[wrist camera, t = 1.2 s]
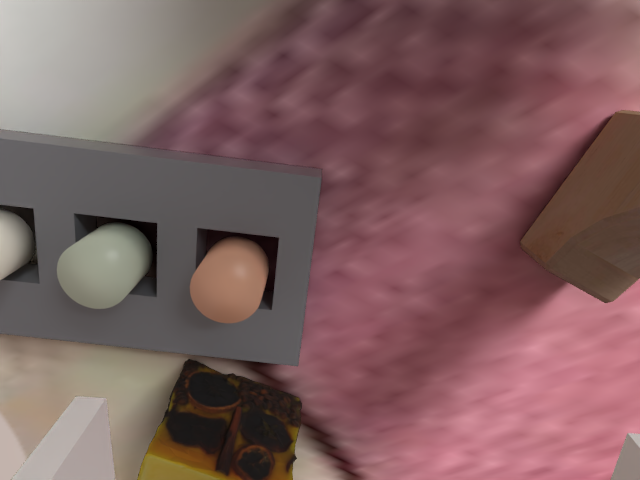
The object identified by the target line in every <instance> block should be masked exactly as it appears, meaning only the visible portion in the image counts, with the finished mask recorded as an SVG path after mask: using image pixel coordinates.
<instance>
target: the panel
mask: <svg viewBox="0 0 640 480" xmlns="http://www.w3.org/2000/svg"><path fill="white" fill-rule="evenodd" d="M321 180H322V169H318V168H310V167H302V166H294V165H286V164H278V163H270V162H262V161H253V160H245V159H237V158H229V157H221V156H213V155H205V154H197V153H188V152H180V151H172V150H164V149H156V148H148V147H140V146H132V145H123V144H115V143H107V142H99V141H91V140H83V139H75V138H66V137H58V136H50V135H42V134H34V133H26V132H18V131H10V130H1V129H0V205H8V206H16V207H25V208H33V209H34V221H35V233H36V246H37V258H38V264H30V263H27V264H25V265H24V266H22V267H21V268H19V269H17V270H16V271H14V272H13V273H11V274H10V275H8V276H6V277H5V278H3V279H2V280H0V334H8V335H17V336H26V337H36V338H45V339H54V340H63V341H72V342H81V343H90V344H99V345H109V346H118V347H127V348H136V349H145V350H154V351H163V352H172V353H182V354H191V355H200V356H209V357H218V358H227V359H236V360H245V361H255V362H264V363H273V364H282V365H291V366H298V364H299V356H300V348H301V340H302V332H303V324H304V316H305V308H306V300H307V292H308V284H309V276H310V268H311V260H312V252H313V244H314V236H315V228H316V220H317V212H318V204H319V196H320V188H321ZM96 216H101V217H110V218H118V219H127V220H135V221H144V222H152V223H157V278H152V277H143V278H142V279H141V280H140V281H139V282H138V284H137V285H136V286H135V287H134V288H133V289H132V290H131V291H130V292H129V294H128V295H127V296H126V297H125V298H124V299H123V300H122V301H121V302H120V303H118V304H117V305H115V306H113V307H110V308H105V309H94V308H89V307H85V306H83V305H81V304H79V303H77V302H75V301H74V300H73V299H71V298H70V297H69V296H68V295H67V294H66V293H65V291H64V290H63V289H62V287H61V285H60V283H59V280H58V277H57V264H58V261H59V258H60V256H61V255H62V253H63V252H64V251H65V250H66V249H67V248H69V247H70V246H72V245H73V244H75V243H76V242H78V241H79V240H81V239H82V238H84V237H85V236H87V235H88V234H90V233H91V232H93V231H94V230H96ZM207 229H211V230H220V231H228V232H237V233H245V234H254V235H262V236H271V237H279V244H278V254H277V264H276V274H275V285H274V291H266V290H264V292H263V295H262V299H261V302H260V305H259V307H258V308H257V310H256V311H255V312H254V313H253V314H252V315H251V316H250V317H249V318H247V319H245V320H243V321H240V322H237V323H220V322H216V321H214V320H211V319H209V318H207V317H206V316H204V315H203V314H202V313H201V312H200V311H199V310H198V309H197V308H196V306H195V305H194V303H193V301H192V298H191V294H190V282H191V279H192V276H193V274H194V273H195V271H196V269H197V268H198V266H199V265H200V263H201V262H202V260H203V259H204V257H205V256H206V246H207Z"/></svg>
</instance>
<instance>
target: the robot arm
mask: <svg viewBox="0 0 640 480" xmlns="http://www.w3.org/2000/svg"><path fill="white" fill-rule="evenodd" d="M11 480H115V471H114V462H113V453H112V444H111V434H110V425H109V416H108V407H107V398H97V397H82V396H76V397H75V398H74V399H73V401H72V402H71V403H70V404H69V406H68V407H67V408H66V409H65V411H64V412H63V413H62V415H61V416H60V417H59V418H58V420H57V421H56V422H55V424H54V425H53V426H52V427H51V429H50V430H49V431H48V433H47V434H46V435H45V436H44V438H43V439H42V440H41V442H40V443H39V444H38V445H37V447H36V448H35V449H34V451H33V452H32V453H31V454H30V456H29V457H28V458H27V460H26V461H25V462H24V463H23V465H22V466H21V467H20V469H19V470H18V471H17V472H16V474H15V475H14V476H13V478H12V479H11ZM611 480H640V434H632V433H627V436H626V439H625V442H624V444H623V447H622V450H621V453H620V455H619V458H618V461H617V464H616V466H615V469H614V472H613V475H612V477H611Z"/></svg>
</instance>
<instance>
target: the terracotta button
mask: <svg viewBox="0 0 640 480" xmlns="http://www.w3.org/2000/svg"><path fill="white" fill-rule="evenodd" d="M268 274H269V261H268V258H267V255H266V253H265V252H264V250H263V249H262V248H261V247H260V246H259V245H258V244H257V243H256V242H254V241H252V240H250V239H248V238H245V237H240V236H231V237H226V238H223V239H221V240H219V241H218V242H216V243H215V244H214V245H213V246H212V247H211V248H210V250H209V251H208V253H207V254H206V256H205V257H204V259H203V260H202V262H201V263H200V265H199V266H198V268H197V269H196V271H195V273H194V274H193V276H192V279H191V282H190V294H191V298H192V301H193V303H194V305H195V306H196V308H197V309H198V310H199V311H200V312H201V313H202V314H203V315H204V316H206V317H207V318H209V319H211V320H214V321H216V322H220V323H237V322H240V321H243V320H245V319H247V318H249V317H250V316H251V315H252V314H253V313H254V312H255V311H256V310H257V308H258V307H259V305H260V302H261V299H262V295H263V292H264V288H265V285H266V281H267V278H268Z"/></svg>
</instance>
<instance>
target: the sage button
mask: <svg viewBox="0 0 640 480" xmlns="http://www.w3.org/2000/svg"><path fill="white" fill-rule="evenodd" d="M152 262H153V251H152V247H151V244H150V242H149V241H148V239H147V238H146V236H145V235H144V234H143V233H142V232H141V231H140V230H138V229H137V228H135V227H133V226H131V225H129V224H126V223H121V222H111V223H107V224H104V225H102V226H100V227H99V228H97V229H96V230H94V231H93V232H91V233H90V234H88V235H87V236H85V237H84V238H82V239H81V240H79V241H78V242H76V243H75V244H73V245H72V246H70V247H69V248H67V249H66V250H65V251H64V252H63V253H62V255H61V256H60V258H59V261H58V264H57V277H58V280H59V283H60V285H61V287H62V289H63V290H64V291H65V293H66V294H67V295H68V296H69V297H70V298H71V299H73V300H74V301H75V302H77V303H79V304H81V305H83V306H85V307H89V308H94V309H105V308H110V307H113V306H115V305H117V304H118V303H120V302H121V301H122V300H123V299H124V298H125V297H126V296H127V295H128V294H129V292H130V291H131V290H132V289H133V288H134V287H135V286H136V285H137V284H138V282H139V281H140V280H141V279H142V278H143V277H144V276H145V275H146V274H147V272H148V271H149V270H150V268H151V265H152Z"/></svg>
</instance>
